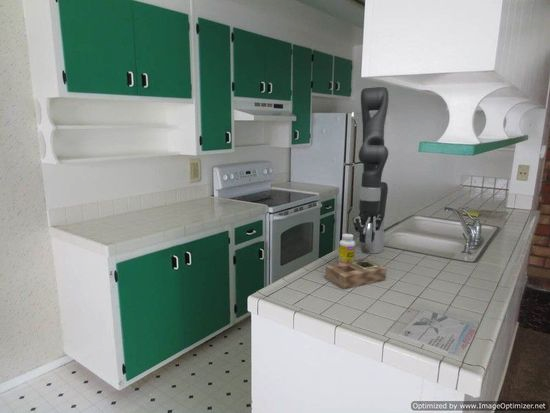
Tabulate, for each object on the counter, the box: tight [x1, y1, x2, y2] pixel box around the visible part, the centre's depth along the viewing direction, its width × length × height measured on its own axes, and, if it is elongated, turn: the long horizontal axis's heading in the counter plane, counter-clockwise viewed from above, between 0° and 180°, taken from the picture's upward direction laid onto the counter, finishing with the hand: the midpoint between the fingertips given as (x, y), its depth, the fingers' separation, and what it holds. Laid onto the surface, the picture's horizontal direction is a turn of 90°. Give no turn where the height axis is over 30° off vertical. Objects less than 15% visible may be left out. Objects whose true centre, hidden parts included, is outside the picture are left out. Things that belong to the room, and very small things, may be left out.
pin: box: [360, 223, 373, 254], centre depth 153 cm, size 4×4×12 cm
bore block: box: [324, 258, 387, 290], centre depth 154 cm, size 20×12×5 cm, turn 117°
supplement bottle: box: [337, 233, 356, 264], centre depth 169 cm, size 7×7×13 cm
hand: (366, 241), depth 153 cm, fingers closed on pin, 3 cm apart
